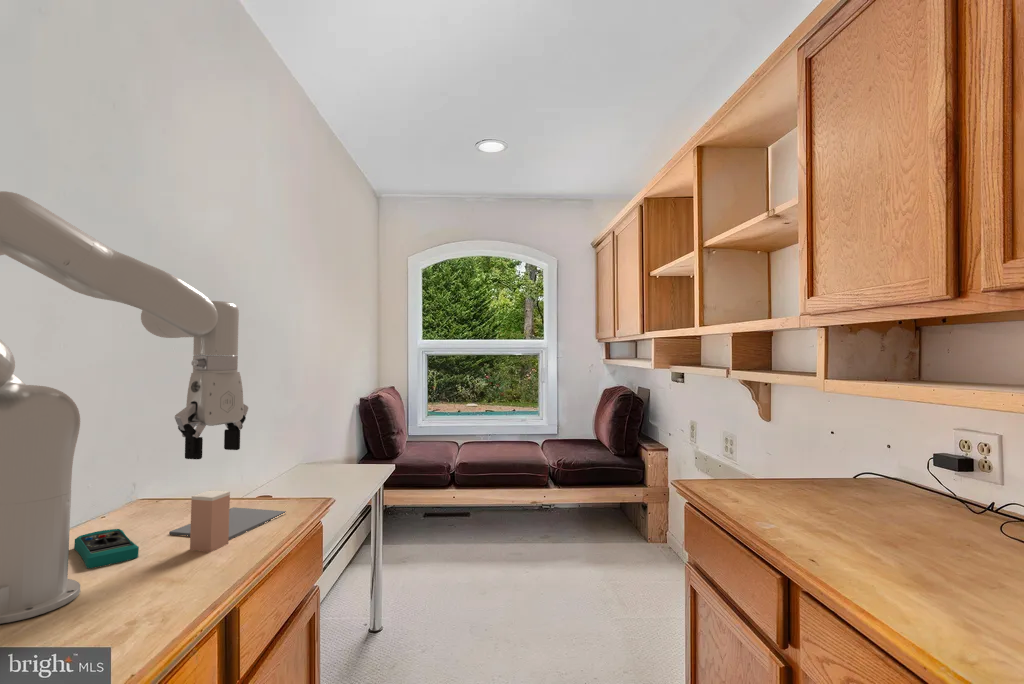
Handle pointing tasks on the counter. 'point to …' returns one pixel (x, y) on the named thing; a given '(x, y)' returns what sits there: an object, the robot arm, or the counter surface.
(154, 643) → the counter surface
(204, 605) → the counter surface
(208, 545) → the block
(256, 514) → the mat
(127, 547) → the digital multimeter
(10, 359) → the robot arm
